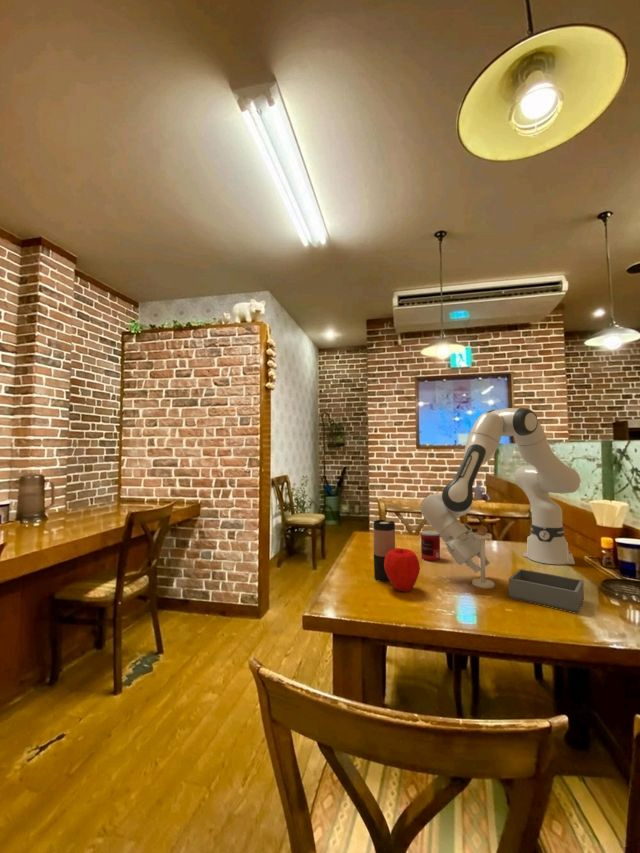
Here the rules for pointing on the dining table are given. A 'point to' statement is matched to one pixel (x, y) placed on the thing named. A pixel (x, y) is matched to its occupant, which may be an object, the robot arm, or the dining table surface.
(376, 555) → the travel mug
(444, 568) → the dining table surface
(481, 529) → the ball
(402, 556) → the apple
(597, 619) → the dining table surface
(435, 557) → the canned food
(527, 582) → the tray
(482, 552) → the pedestal dish
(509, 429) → the robot arm
